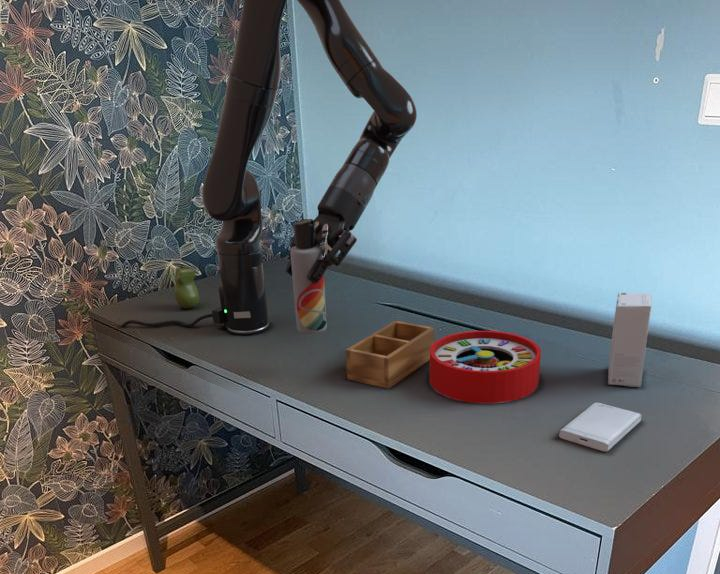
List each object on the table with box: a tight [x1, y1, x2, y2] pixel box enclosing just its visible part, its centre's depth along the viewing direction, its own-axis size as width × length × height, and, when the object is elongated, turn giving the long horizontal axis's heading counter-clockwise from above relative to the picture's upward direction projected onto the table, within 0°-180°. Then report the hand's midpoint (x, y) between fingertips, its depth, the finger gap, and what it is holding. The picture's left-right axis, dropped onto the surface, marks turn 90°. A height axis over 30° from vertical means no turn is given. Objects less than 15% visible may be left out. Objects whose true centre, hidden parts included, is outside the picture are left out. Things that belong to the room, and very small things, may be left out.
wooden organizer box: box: [345, 320, 436, 390], centre depth 148 cm, size 9×18×6 cm, turn 147°
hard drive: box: [558, 402, 642, 453], centre depth 124 cm, size 2×8×12 cm
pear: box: [174, 265, 200, 310], centre depth 183 cm, size 6×5×10 cm
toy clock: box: [428, 330, 542, 405], centre depth 141 cm, size 20×6×20 cm
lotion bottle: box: [290, 218, 328, 335], centre depth 140 cm, size 6×6×20 cm
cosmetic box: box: [607, 292, 653, 388], centre depth 138 cm, size 8×6×15 cm
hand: (300, 277), depth 138 cm, fingers closed on lotion bottle, 5 cm apart
